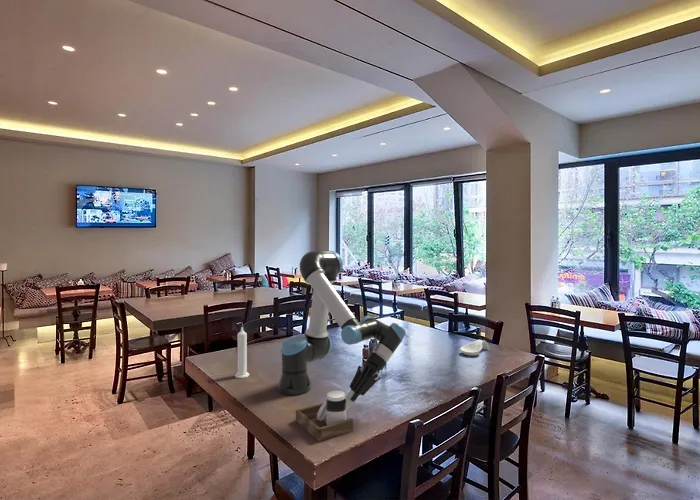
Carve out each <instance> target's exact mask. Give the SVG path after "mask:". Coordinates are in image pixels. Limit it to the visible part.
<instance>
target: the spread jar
mask: <svg viewBox="0 0 700 500" xmlns="http://www.w3.org/2000/svg"><path fill="white" fill-rule="evenodd" d="M322 403H323V404H322ZM322 403H321V404H322V406H321V407H320V409H319V411H318V414H317V416H316V420H317V421H320V422H321V421H322V420H323V419H324V418H325V424H326V426H327V425H331V424H334V423H338V422H341V421H344V420H347V409H346V393H345V392H344V391H342V390H331V391H328V392H327V394H326V401H325V402H322Z"/></svg>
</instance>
